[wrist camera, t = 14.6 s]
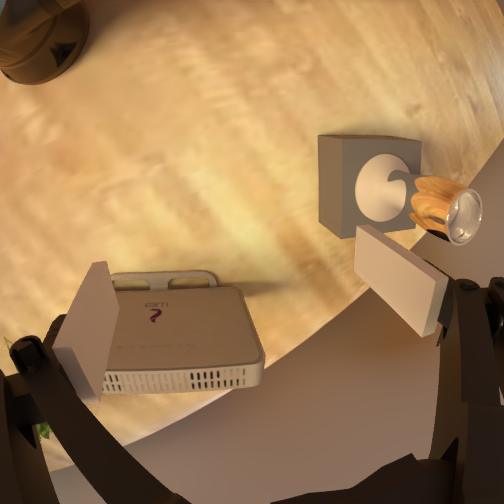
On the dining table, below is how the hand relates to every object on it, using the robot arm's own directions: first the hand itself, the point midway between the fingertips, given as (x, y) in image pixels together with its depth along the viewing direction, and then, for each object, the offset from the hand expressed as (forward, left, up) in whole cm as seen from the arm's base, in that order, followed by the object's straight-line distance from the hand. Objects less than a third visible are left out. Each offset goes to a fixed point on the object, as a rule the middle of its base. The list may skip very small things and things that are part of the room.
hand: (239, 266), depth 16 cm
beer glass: (+3, +26, -24) cm, 35 cm away
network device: (+19, -9, -32) cm, 38 cm away
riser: (+3, +25, -32) cm, 40 cm away
